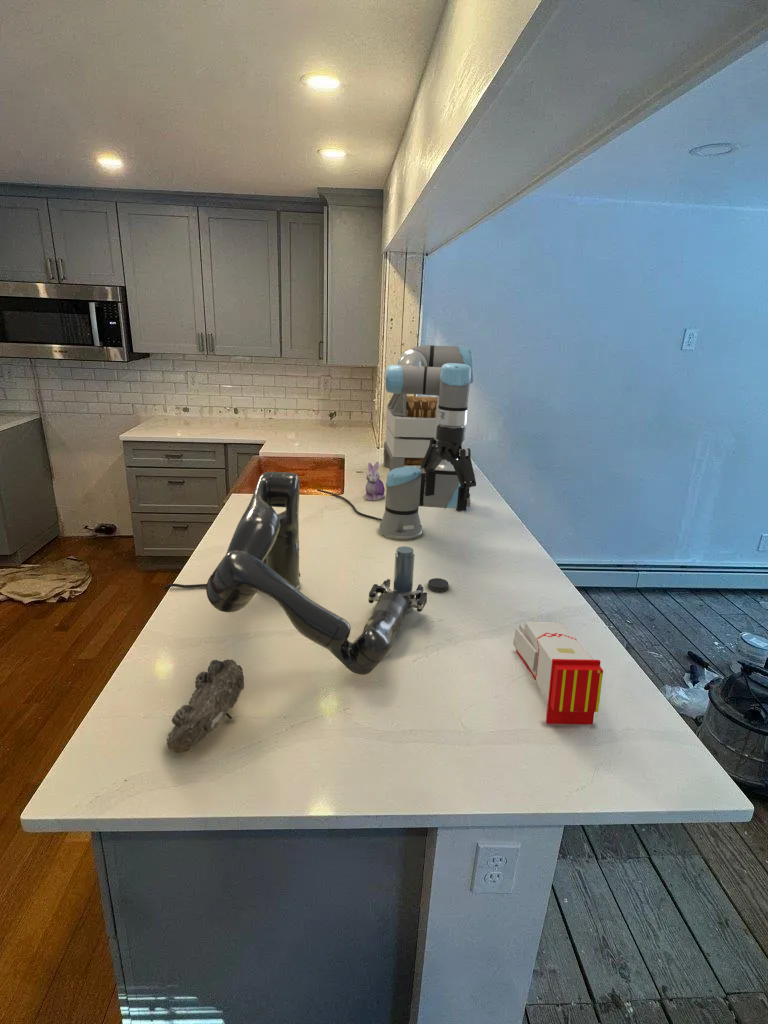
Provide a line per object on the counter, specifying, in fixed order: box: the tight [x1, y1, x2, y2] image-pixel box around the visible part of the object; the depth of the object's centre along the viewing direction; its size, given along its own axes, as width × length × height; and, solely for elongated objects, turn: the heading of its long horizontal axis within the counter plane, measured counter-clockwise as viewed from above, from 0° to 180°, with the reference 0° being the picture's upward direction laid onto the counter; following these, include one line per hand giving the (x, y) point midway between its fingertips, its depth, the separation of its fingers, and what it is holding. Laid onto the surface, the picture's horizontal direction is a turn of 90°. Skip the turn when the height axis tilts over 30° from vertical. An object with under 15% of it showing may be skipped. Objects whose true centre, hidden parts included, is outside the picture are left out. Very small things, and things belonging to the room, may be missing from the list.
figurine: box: [364, 461, 386, 501], centre depth 234 cm, size 9×10×15 cm
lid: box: [427, 577, 450, 593], centre depth 162 cm, size 6×6×2 cm
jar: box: [392, 545, 416, 613], centre depth 147 cm, size 5×5×17 cm
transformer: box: [383, 393, 464, 472], centre depth 268 cm, size 34×33×41 cm
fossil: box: [166, 658, 245, 754], centre depth 106 cm, size 22×10×15 cm
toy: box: [512, 621, 604, 726], centre depth 121 cm, size 12×13×30 cm
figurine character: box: [463, 492, 471, 512], centre depth 229 cm, size 7×8×15 cm
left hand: (404, 584), depth 150 cm, fingers open, 8 cm apart
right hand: (444, 502), depth 154 cm, fingers open, 13 cm apart
